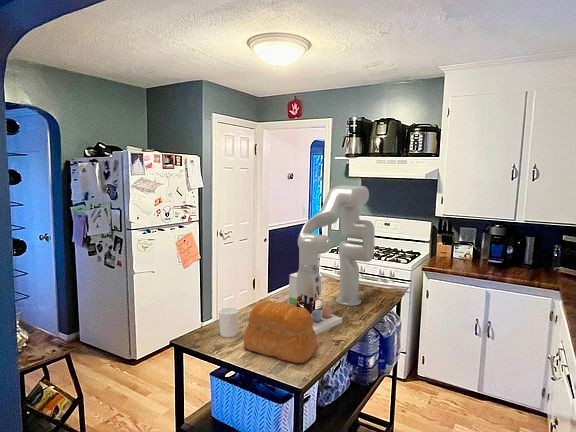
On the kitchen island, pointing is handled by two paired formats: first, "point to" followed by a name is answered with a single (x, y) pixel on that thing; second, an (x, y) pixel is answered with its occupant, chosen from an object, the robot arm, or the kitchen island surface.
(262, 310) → the bread
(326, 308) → the rust button
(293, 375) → the kitchen island surface
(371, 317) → the kitchen island surface
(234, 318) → the white cup
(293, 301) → the skincare box
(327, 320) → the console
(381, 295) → the kitchen island surface
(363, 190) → the robot arm
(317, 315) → the slate button
